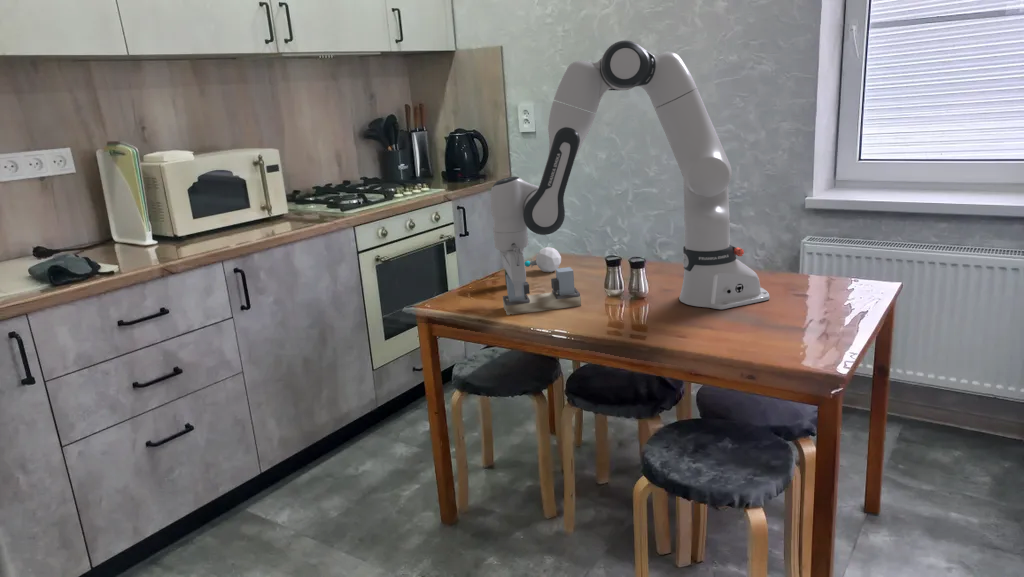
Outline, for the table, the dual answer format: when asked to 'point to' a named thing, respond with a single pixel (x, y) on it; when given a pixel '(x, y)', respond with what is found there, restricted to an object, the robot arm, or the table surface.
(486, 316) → the table surface
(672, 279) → the table surface
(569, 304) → the rail
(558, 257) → the perfume bottle
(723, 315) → the table surface
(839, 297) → the table surface
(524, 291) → the block
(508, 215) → the robot arm
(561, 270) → the block
